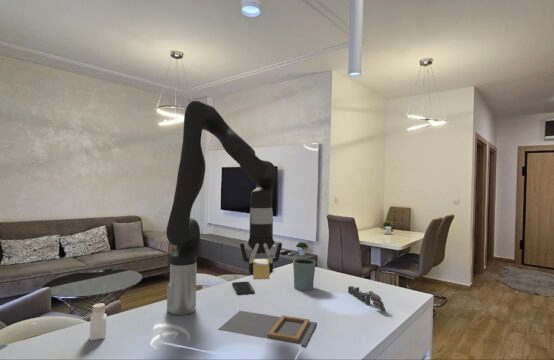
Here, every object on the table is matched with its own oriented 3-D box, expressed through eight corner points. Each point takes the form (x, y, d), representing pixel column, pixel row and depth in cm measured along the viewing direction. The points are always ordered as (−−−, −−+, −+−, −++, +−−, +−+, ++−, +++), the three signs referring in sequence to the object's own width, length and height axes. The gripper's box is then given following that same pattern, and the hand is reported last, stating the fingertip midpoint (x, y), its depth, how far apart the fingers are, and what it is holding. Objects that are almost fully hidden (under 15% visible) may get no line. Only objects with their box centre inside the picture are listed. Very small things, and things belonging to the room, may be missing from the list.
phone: (248, 281, 150) (255, 291, 135) (248, 283, 149) (255, 294, 135) (231, 282, 147) (236, 293, 133) (231, 285, 147) (236, 295, 133)
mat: (217, 331, 100) (217, 326, 100) (239, 312, 115) (239, 307, 115) (305, 346, 91) (305, 341, 91) (316, 324, 106) (316, 319, 106)
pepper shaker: (91, 335, 96) (92, 303, 96) (106, 333, 98) (107, 301, 98) (89, 341, 92) (90, 308, 92) (105, 339, 94) (106, 306, 94)
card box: (253, 270, 109) (253, 258, 109) (267, 270, 109) (268, 258, 109) (253, 279, 99) (253, 266, 99) (269, 279, 99) (269, 265, 99)
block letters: (385, 315, 115) (385, 299, 115) (382, 315, 114) (382, 299, 114) (351, 292, 139) (351, 279, 139) (348, 292, 138) (348, 279, 138)
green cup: (288, 285, 146) (289, 259, 146) (308, 283, 150) (308, 257, 150) (299, 292, 137) (300, 264, 137) (319, 289, 141) (320, 262, 141)
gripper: (282, 220, 108) (281, 271, 108) (239, 220, 107) (239, 271, 107) (284, 223, 101) (283, 277, 101) (238, 223, 100) (237, 277, 100)
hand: (260, 274), depth 104 cm, fingers closed on card box, 5 cm apart
